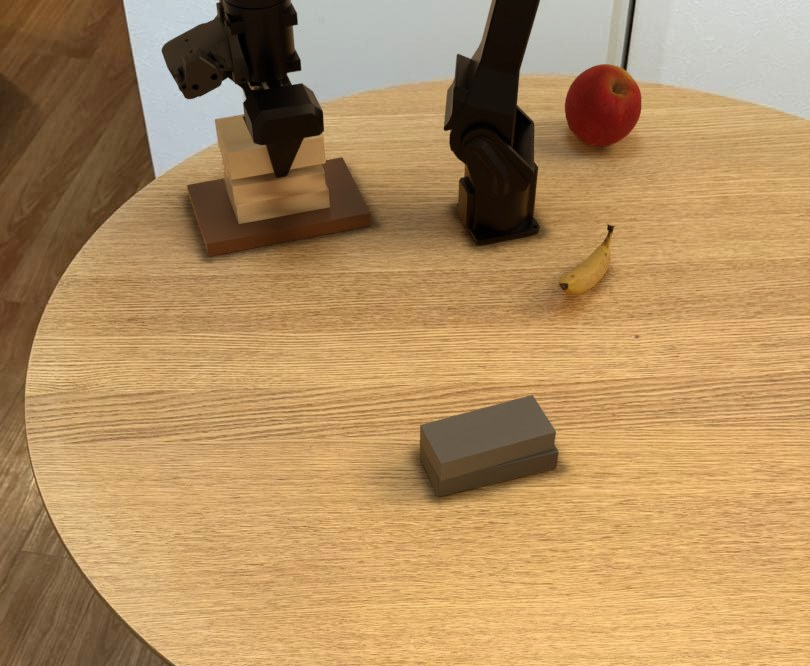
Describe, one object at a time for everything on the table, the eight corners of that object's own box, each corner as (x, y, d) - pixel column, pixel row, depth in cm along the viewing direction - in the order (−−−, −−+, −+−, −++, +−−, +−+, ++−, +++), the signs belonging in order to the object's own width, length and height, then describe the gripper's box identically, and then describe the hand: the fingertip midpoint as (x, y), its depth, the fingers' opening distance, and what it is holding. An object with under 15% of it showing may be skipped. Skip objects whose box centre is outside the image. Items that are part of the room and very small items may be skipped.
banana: (571, 322, 103) (576, 286, 100) (547, 313, 104) (551, 277, 101) (618, 262, 109) (624, 226, 106) (595, 254, 109) (600, 218, 106)
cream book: (309, 129, 112) (307, 103, 109) (325, 163, 108) (324, 136, 106) (218, 145, 110) (214, 118, 108) (231, 180, 106) (227, 153, 104)
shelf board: (343, 169, 118) (340, 120, 114) (370, 225, 112) (369, 176, 108) (188, 197, 115) (180, 148, 111) (208, 256, 109) (200, 207, 105)
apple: (565, 162, 119) (574, 90, 113) (558, 120, 124) (566, 48, 118) (639, 162, 119) (651, 89, 113) (628, 119, 124) (640, 48, 118)
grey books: (534, 428, 95) (538, 393, 92) (557, 470, 92) (562, 435, 89) (417, 455, 93) (417, 420, 90) (436, 499, 90) (437, 464, 87)
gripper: (142, -42, 101) (171, 120, 113) (181, 62, 90) (208, 230, 102) (266, -60, 103) (281, 102, 115) (320, 40, 92) (330, 207, 104)
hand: (273, 157), depth 109 cm, fingers closed on cream book, 6 cm apart
